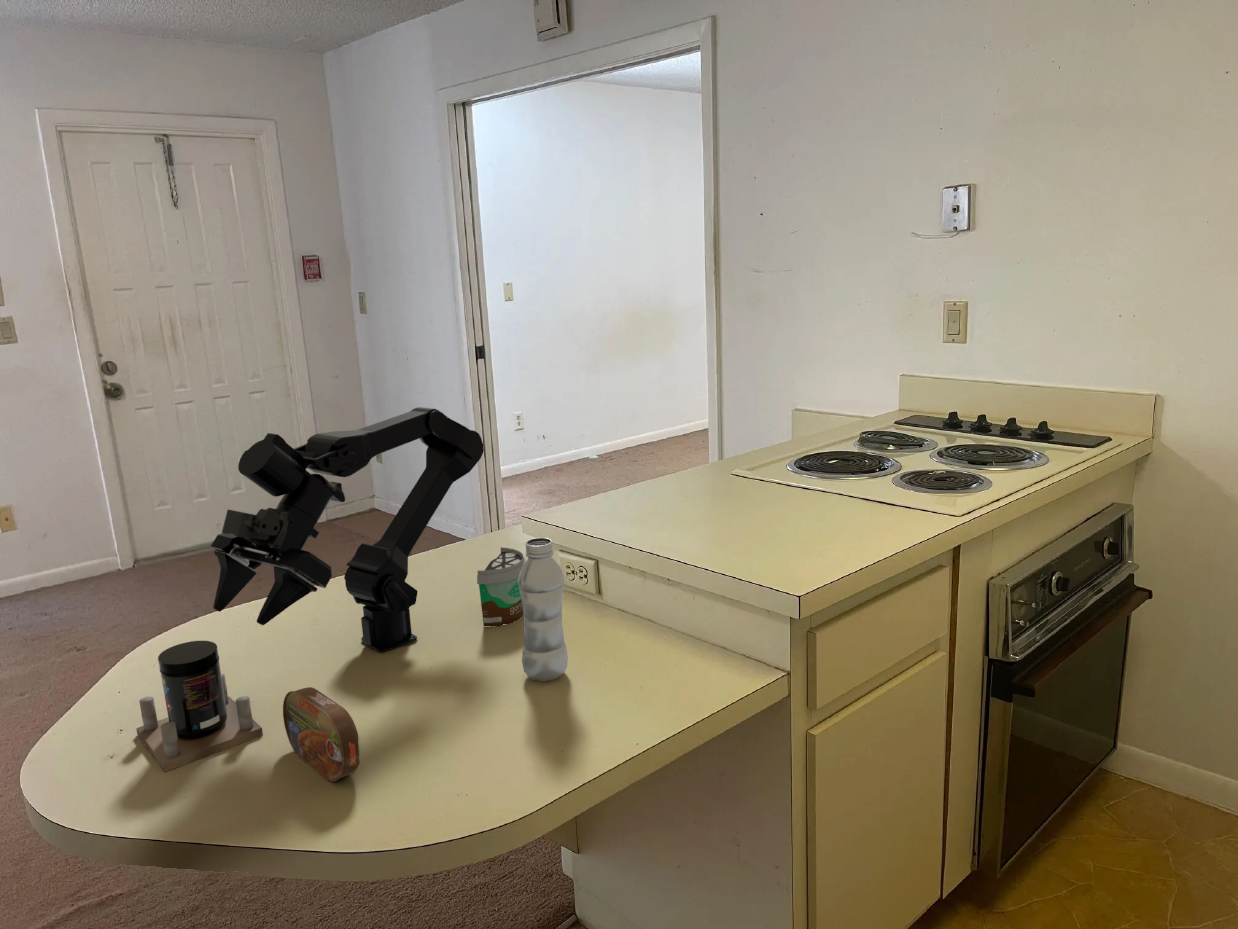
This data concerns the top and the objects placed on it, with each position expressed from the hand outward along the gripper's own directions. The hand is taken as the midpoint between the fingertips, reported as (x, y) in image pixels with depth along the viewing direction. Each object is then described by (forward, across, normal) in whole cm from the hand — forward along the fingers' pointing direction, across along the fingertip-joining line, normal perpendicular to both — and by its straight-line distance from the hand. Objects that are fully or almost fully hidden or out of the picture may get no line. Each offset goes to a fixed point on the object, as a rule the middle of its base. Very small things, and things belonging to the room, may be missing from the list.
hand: (237, 616), depth 116 cm
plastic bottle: (-10, +29, +29) cm, 42 cm away
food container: (-20, +11, +39) cm, 45 cm away
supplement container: (+14, 0, +4) cm, 14 cm away
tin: (+12, +19, +7) cm, 24 cm away
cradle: (+15, 0, +4) cm, 15 cm away
